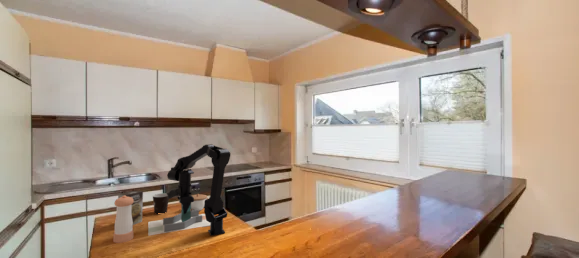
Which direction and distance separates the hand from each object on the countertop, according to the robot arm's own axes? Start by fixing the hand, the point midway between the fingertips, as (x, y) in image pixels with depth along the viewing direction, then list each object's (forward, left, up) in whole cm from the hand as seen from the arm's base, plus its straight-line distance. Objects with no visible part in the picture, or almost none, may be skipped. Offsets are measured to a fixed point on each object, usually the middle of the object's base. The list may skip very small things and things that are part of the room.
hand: (184, 212), depth 128 cm
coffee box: (+11, +24, -6) cm, 27 cm away
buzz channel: (0, 0, -6) cm, 6 cm away
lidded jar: (+21, -10, -6) cm, 24 cm away
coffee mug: (+23, +10, -6) cm, 26 cm away
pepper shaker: (-8, +25, -6) cm, 27 cm away
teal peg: (0, -1, -4) cm, 4 cm away
